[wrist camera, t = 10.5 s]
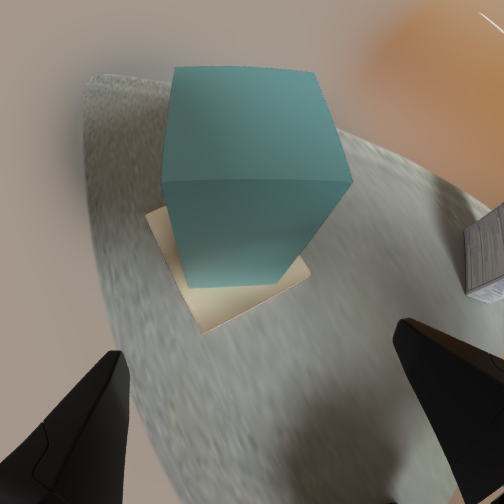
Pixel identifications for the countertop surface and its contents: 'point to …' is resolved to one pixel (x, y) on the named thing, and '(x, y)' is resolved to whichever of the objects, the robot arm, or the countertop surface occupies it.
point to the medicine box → (486, 257)
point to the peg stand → (221, 298)
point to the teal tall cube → (248, 171)
